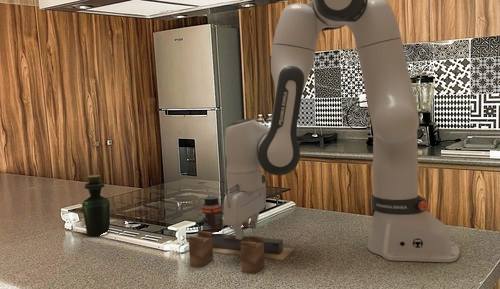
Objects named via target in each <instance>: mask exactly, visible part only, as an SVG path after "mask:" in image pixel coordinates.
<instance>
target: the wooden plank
mask: <svg viewBox="0 0 500 289" xmlns="http://www.w3.org/2000/svg"><path fill="white" fill-rule="evenodd" d="M212 249H213V254H222V255H231V256H240V257H241V251H239V250H229V249H220V248H212ZM293 251H294V248H290V247H283V251H282V252H281V253H280V254H279V255H278V254H268V253H264V259H268V260H277V261H278V260H279V261H284V260H285V259H286V258H287V257H288V256H289V255H290V254H292V252H293Z"/></svg>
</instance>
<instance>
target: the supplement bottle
mask: <svg viewBox="0 0 500 289" xmlns="http://www.w3.org/2000/svg"><path fill="white" fill-rule="evenodd" d="M222 206H223V205H222V204H221V203H219V197H218V196H217V195H210V196H206V197H204V204H202V206H201V218H202V219H203V220H204V225H203V224H202V231H203V230H204V231H205V232H219V231H221V230H222V229H223V230H224V217H223V207H222ZM203 220H202V221H203Z"/></svg>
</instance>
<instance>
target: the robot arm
mask: <svg viewBox="0 0 500 289" xmlns="http://www.w3.org/2000/svg"><path fill="white" fill-rule="evenodd" d="M279 16H280V17H279V18H278V21H277V25H276V28H275V32H274V37H273V40H272V45H271V46H272V47H271V53H270V54H271V55H270V74H271V77H272V79H273V83H274V84H273V85H274V92H275V93H274V94H275V95H274V96H275V97H274V103H273V107H272V108H273V109H272V115H271V122H270V127H269V126H267V125H264V124H262V123H260V122H258V121H256V119H254V118H244V119H239V120H238V119H237V120H235V121H233V122H231V123H229V124H228V125H227V127H226V128H225V132H224V155H225V158H226V163H227V164H226V170H225V171H226V172H225V174H226V186H227V187H226V188H227V194H225V196H224V198H223V224H224V225H225V226H229V227H230V226H232V227H233V228H232V229H233V231H234V234H235V237H236V239H242V238H243V237H244V236H245V230H243V228H241V226H242V222H243V221H245V220H246V219H248V218H249V219H250V220H249V228H250V229H251V230H252V229H254V230H255V229H256V228H258V226H259V225H258V220H259V217H260V216H259V215H260V211H261V210H262V209H264V208H265V206H266V200H267V198H266V195H267V194H266V193H267V192H266V190H267V189H266V183H267V175H266V174H265V173H262V172H261V168H262V169H263V170H264V171H265V172H266V173H268V174H269V175H272V176H284V175H285V176H286V175H287V174H290V173H291V172H292V171H294V170H295V169H296V168H297V166H298V164H299V162H300V160H301V150H300V145H299V142H298V137H297V128H298V123H299V122H298V121H299V116H300V109H301V103H302V97H303V93H304V90H305V87H306V85H307V82H308V79H309V77H310V73H311V71H312V69H313V68H312V67H313V64H314V60H315V56H316V50H317V45H318V41H319V36H320V33H321V32H324V31H325V32H326V31H332V30H338V29H340V28H344V26H346V27H348V29H349V30H350V31H351V33H352V35H353V38H354V43H355V46H356V47H355V48H356V51H357V52H356V53H357V57H358V62H359V66H360V71H361V74H362V75H361V76H362V80H363V86H364V91H365V96H366V97H365V98H366V102H367V108H368V113H369V118H370V123H371V128H372V132H373V134H372V135H373V137H372V140H373V141H372V142H373V143H372V144H373V145H372V153H373V154H372V175H373V176H372V195H371V198H370V199H371V200H370V207H371V208H370V210H371V211H370V212H371V216H372V221H371V230H370V236H369V239H368V243H367V246H366V247H367V249H368V251H369V252H371V253H373V254H374V255H375V254H376V255H378V256H381V257H383V258H384V259H385V260H387V261H398V262H399V261H400V262H403V261H404V262H422V263H423V262H425V263H426V262H429V263H453V262H455V261H457V260H458V259H459V258H460V255H461V254H460V253H461V252H460V247H459V245H458V244H456V243H455V242H453V241H451V237H450V233H449V229H448V228H447V226H446V225H445V223H443V222H442V221H440V220H439V218H436V217H435V216H434V215H433V214H431V213H430V212H429V211H428V210H427V208H428V202H427V199H426V196H424V197H423V196H421V195H419V159H418V158H419V157H418V155H419V154H418V153H419V152H418V130H419V127H420V116H419V112H418V106H417V103H416V99H415V95H414V89H413V86H412V81H411V76H410V72H409V67H408V63H407V58H406V54H405V48H404V44H403V39H402V36H401V31H400V27H399V24H398V21H397V18H396V16H395V12H394V10H393V9H392V6H391V5H390V3H389V2H388V1H387V0H311V1H310V2H308V3H300V2H299V3H298V2H297V3H291V4H288V5H287V6H285V7H284V8H283V10H282V12H281V13H280V15H279Z"/></svg>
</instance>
